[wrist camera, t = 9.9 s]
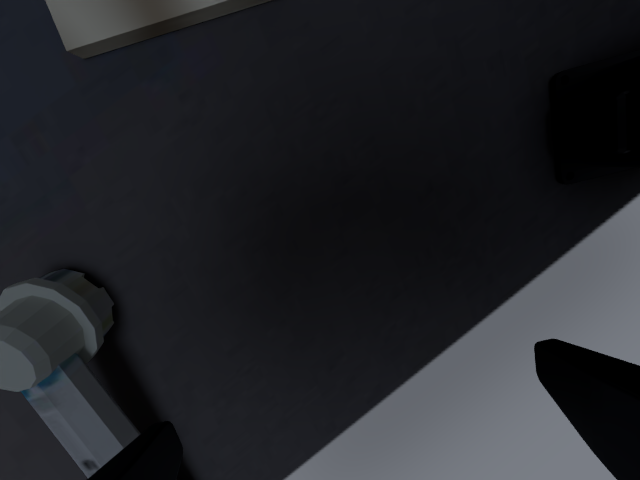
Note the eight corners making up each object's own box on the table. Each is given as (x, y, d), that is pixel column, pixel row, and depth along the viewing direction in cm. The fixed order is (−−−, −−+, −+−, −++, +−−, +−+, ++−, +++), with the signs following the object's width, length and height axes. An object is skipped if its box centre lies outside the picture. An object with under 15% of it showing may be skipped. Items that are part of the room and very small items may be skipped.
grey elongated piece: (149, 593, 22) (-118, 346, 13) (183, 492, 29) (16, 276, 20) (213, 580, 22) (-16, 317, 13) (234, 480, 28) (87, 254, 19)
